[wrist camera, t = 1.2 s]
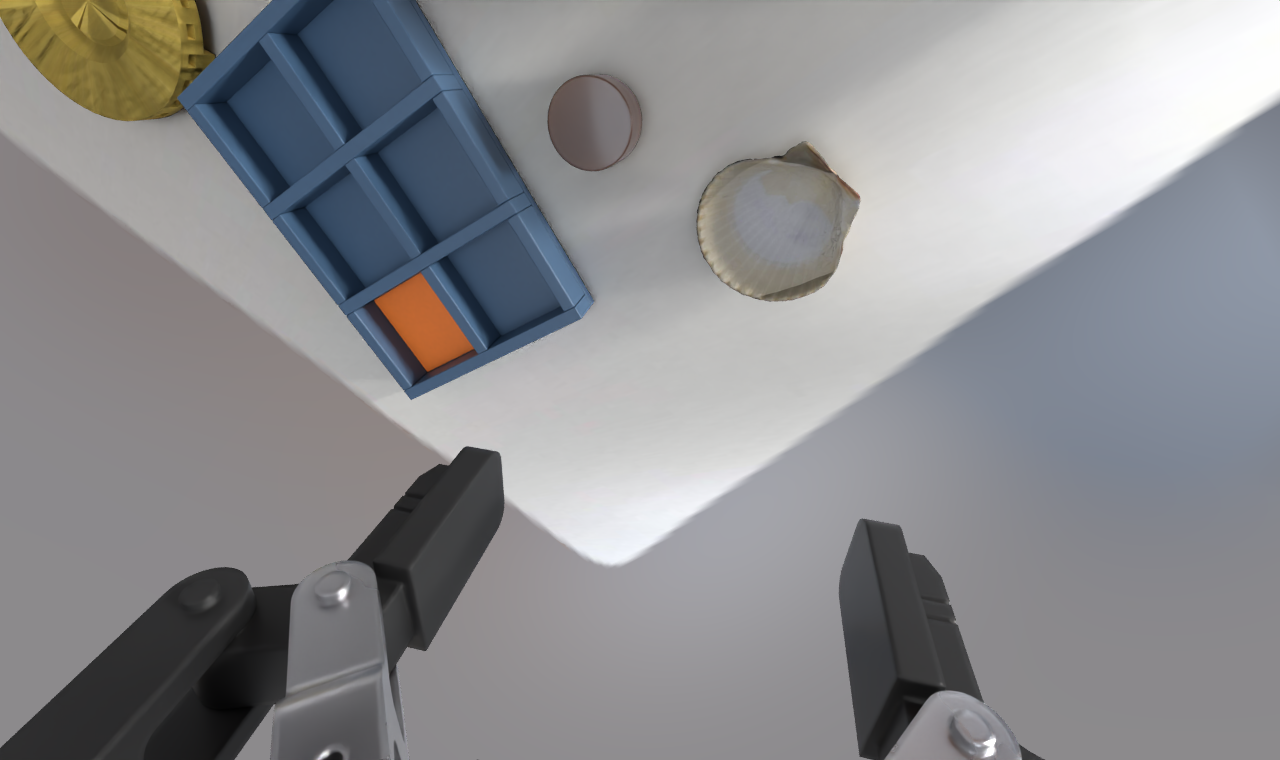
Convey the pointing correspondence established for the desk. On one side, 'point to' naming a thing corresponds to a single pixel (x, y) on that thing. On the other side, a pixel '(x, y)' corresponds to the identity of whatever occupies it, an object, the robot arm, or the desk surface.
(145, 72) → the gold notched disc
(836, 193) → the seashell
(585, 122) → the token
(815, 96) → the desk surface
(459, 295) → the grid
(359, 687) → the robot arm
